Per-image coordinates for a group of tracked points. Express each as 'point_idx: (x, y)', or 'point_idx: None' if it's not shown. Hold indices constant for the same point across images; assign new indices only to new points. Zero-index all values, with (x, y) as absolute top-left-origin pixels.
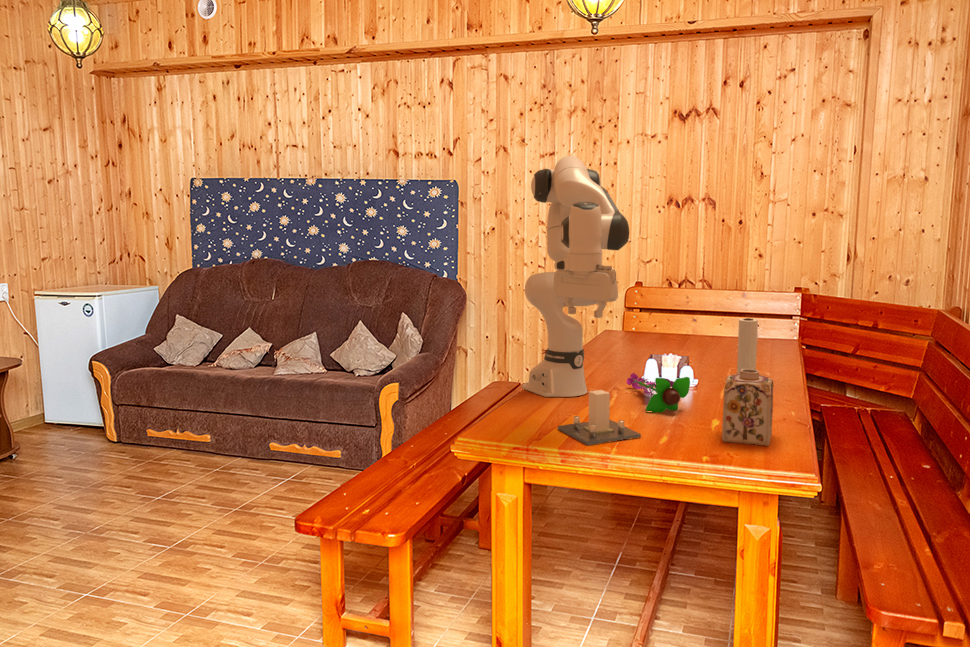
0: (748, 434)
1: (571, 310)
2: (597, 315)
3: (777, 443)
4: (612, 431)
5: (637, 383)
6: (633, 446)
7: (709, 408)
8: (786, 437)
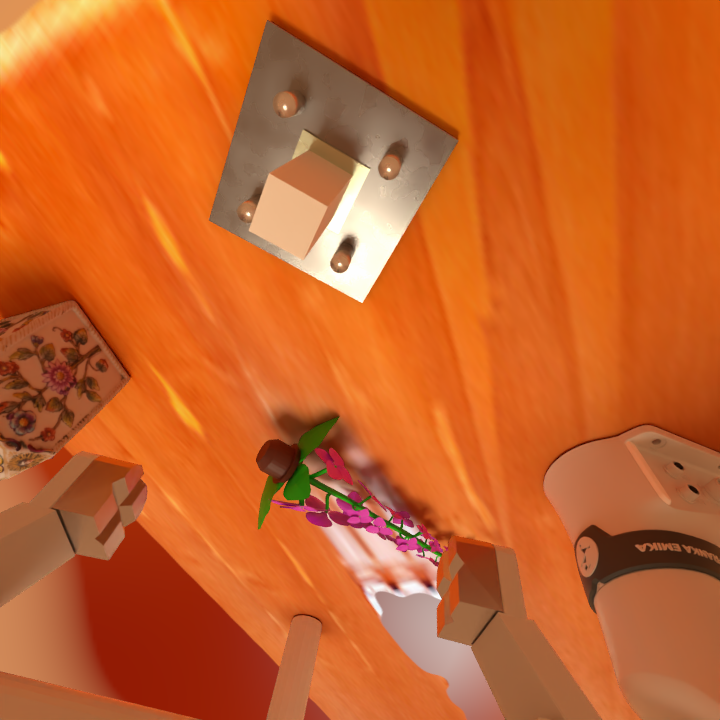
0: (17, 321)
1: (461, 570)
2: (74, 465)
3: None
4: None
5: None
6: (171, 124)
7: (255, 486)
8: None
